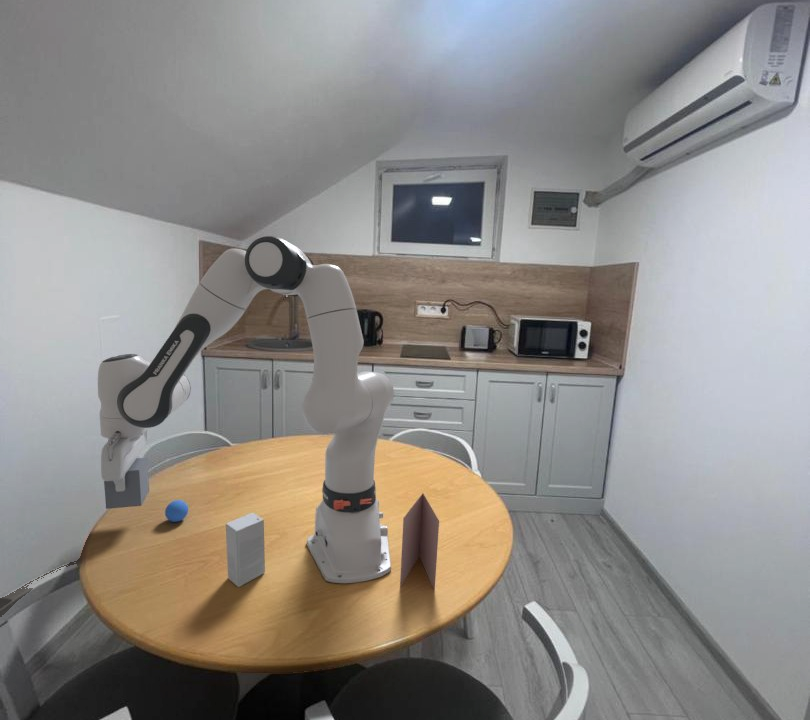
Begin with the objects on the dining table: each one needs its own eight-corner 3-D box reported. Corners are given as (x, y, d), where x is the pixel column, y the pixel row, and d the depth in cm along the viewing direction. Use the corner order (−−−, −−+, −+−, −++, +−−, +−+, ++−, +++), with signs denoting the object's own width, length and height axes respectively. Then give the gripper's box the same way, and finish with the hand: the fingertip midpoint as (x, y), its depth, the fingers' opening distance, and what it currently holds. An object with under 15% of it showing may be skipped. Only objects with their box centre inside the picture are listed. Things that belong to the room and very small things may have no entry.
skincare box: (253, 564, 91) (253, 511, 88) (265, 573, 88) (265, 519, 86) (226, 578, 86) (224, 523, 84) (237, 588, 83) (236, 531, 81)
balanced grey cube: (141, 505, 99) (139, 470, 98) (106, 508, 97) (103, 472, 96) (149, 491, 106) (147, 457, 104) (116, 494, 104) (114, 459, 102)
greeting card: (415, 554, 96) (419, 492, 94) (447, 563, 94) (452, 499, 91) (395, 586, 86) (399, 517, 83) (431, 597, 83) (436, 526, 81)
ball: (186, 524, 104) (185, 505, 103) (163, 527, 102) (162, 507, 101) (190, 514, 108) (189, 495, 108) (168, 516, 107) (167, 497, 106)
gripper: (125, 440, 89) (128, 502, 92) (151, 411, 109) (153, 463, 111) (89, 442, 88) (94, 505, 90) (122, 412, 107) (125, 464, 109)
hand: (127, 481), depth 101 cm, fingers closed on balanced grey cube, 7 cm apart
